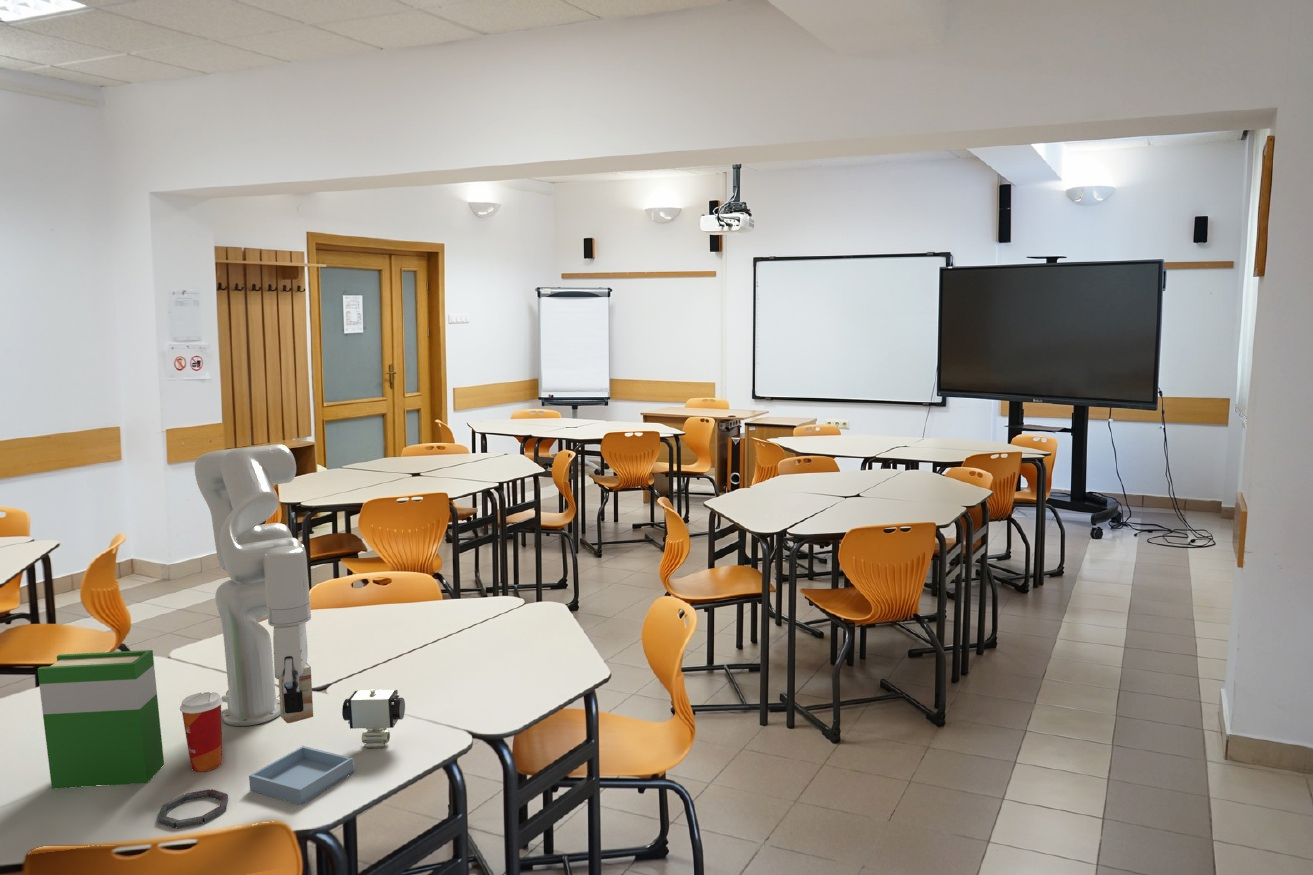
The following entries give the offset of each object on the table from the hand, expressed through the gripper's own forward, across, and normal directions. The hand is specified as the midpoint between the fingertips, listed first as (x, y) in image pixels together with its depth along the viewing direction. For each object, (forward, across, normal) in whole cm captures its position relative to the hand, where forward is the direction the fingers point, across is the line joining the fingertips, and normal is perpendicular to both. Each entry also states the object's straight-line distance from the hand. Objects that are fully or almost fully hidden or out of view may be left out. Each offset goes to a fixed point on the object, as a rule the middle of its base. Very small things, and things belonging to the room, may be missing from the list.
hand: (296, 704), depth 179 cm
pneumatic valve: (+16, -13, +13) cm, 24 cm away
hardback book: (+16, -13, -37) cm, 43 cm away
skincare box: (+3, 0, 0) cm, 3 cm away
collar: (+16, +6, -18) cm, 25 cm away
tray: (+16, 0, 0) cm, 16 cm away
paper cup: (+16, -12, -20) cm, 28 cm away
